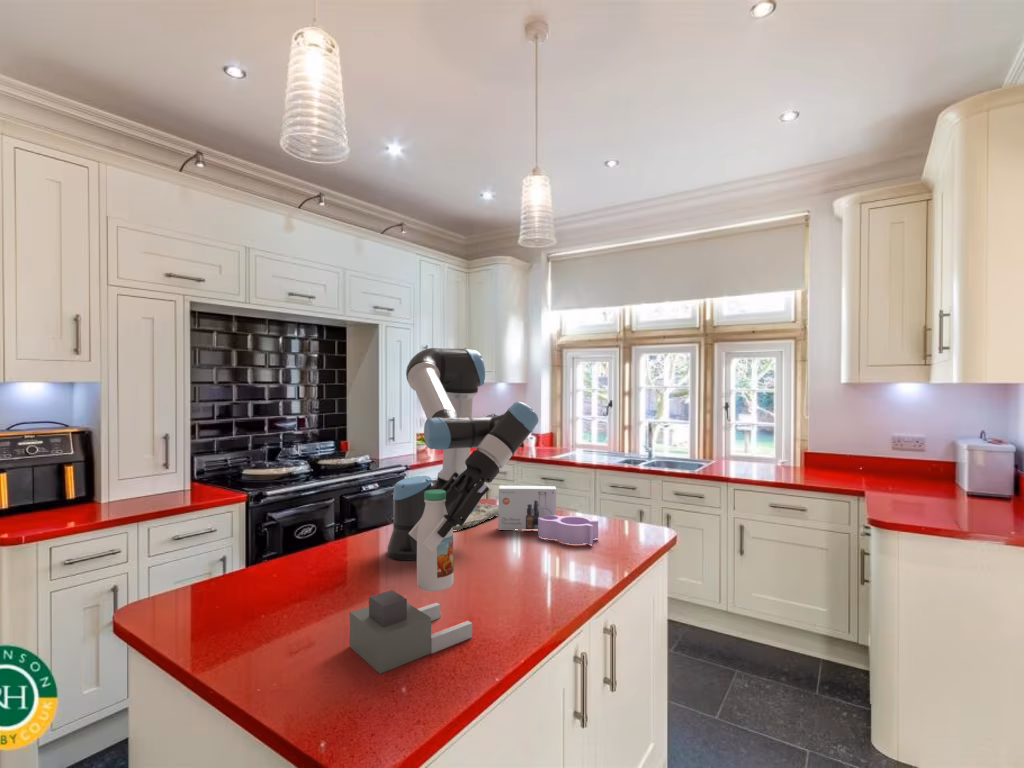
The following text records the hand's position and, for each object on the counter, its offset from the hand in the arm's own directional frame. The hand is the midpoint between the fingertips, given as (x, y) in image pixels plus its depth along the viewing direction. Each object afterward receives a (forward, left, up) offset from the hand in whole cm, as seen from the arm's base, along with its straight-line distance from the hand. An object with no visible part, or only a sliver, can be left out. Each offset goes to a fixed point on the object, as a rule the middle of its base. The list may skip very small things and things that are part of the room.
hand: (420, 542), depth 108 cm
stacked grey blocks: (0, -2, -20) cm, 20 cm away
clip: (-27, +75, -20) cm, 82 cm away
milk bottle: (+1, +3, -10) cm, 10 cm away
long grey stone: (-66, +66, -21) cm, 95 cm away
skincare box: (-44, +72, -20) cm, 87 cm away
